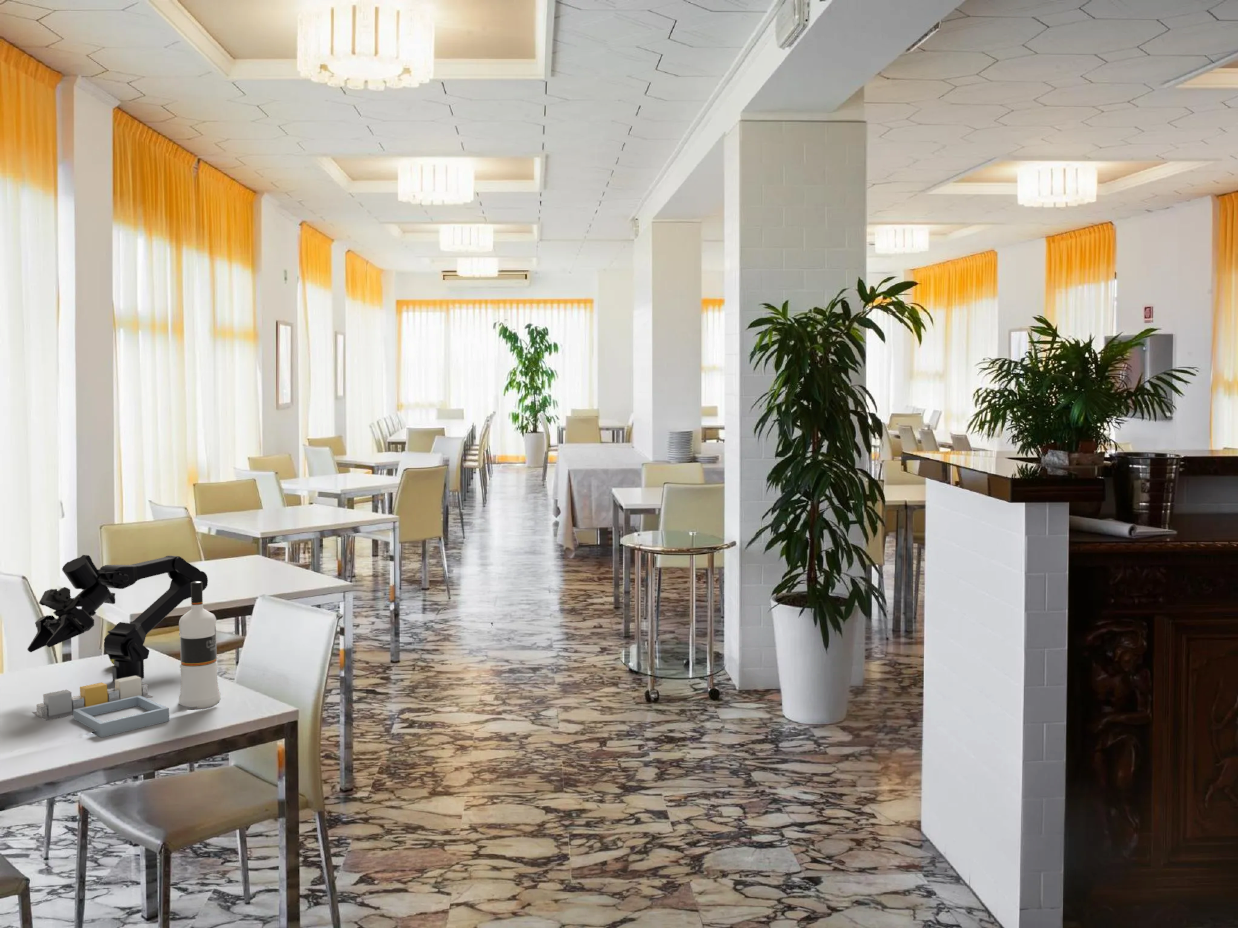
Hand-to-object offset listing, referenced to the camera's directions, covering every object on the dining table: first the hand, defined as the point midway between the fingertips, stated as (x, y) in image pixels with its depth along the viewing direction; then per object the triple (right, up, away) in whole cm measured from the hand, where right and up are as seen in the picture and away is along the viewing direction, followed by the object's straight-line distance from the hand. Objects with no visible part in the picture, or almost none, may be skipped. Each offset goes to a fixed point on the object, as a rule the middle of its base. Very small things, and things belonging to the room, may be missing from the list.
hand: (38, 648), depth 239 cm
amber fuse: (+12, -14, +2) cm, 18 cm away
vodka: (+36, -15, +5) cm, 39 cm away
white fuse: (+18, -13, +8) cm, 23 cm away
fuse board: (+12, -15, +2) cm, 19 cm away
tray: (+24, -15, -8) cm, 29 cm away
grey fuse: (+7, -14, -4) cm, 16 cm away
